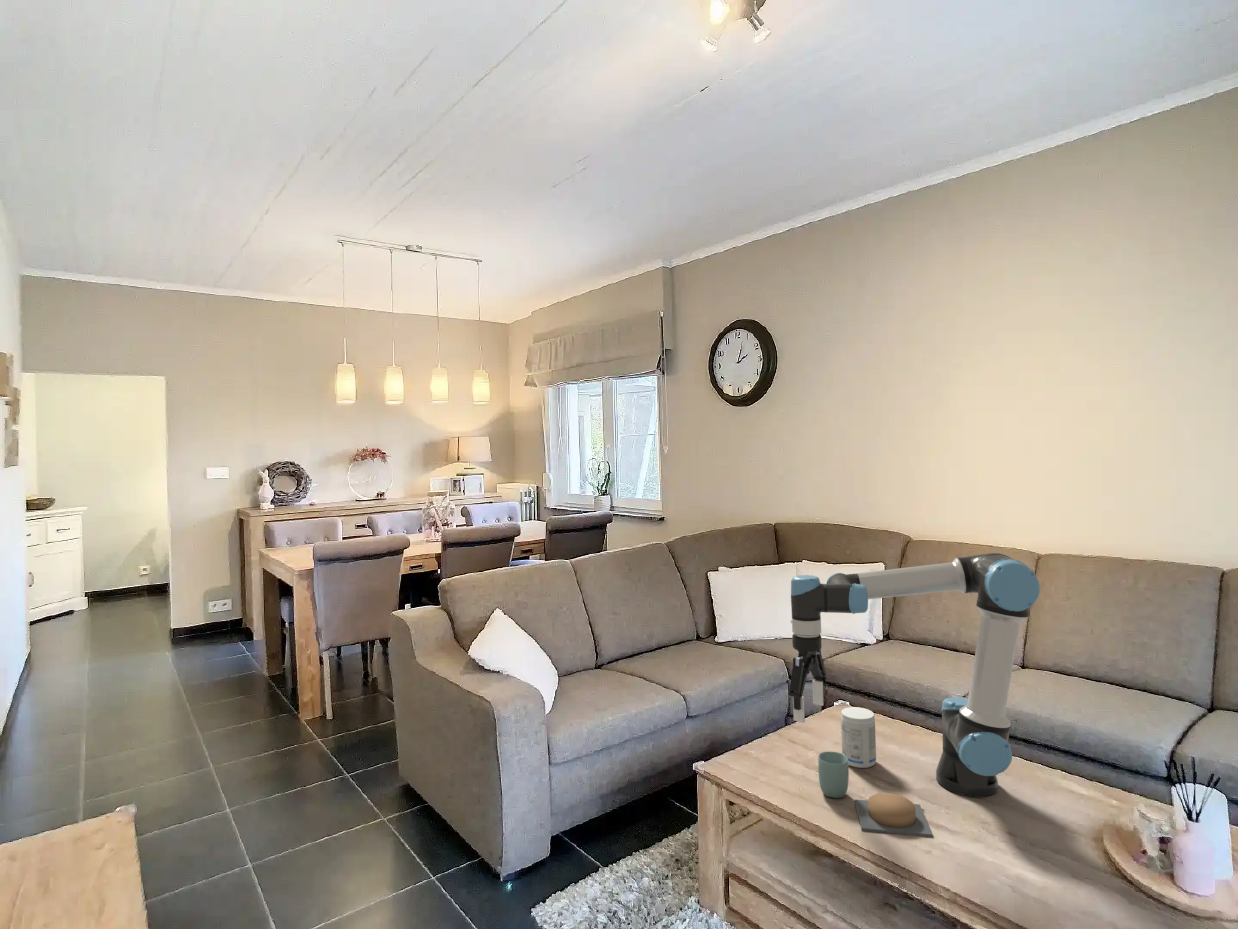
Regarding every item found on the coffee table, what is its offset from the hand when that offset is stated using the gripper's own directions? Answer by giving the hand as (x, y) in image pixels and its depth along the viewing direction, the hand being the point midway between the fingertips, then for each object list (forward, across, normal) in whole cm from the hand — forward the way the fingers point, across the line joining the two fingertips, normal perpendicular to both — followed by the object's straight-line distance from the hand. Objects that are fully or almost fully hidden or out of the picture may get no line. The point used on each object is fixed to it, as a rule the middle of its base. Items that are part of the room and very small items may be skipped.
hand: (809, 712), depth 185 cm
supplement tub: (+22, -26, +4) cm, 35 cm away
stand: (+22, +1, +21) cm, 31 cm away
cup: (+22, -3, +5) cm, 23 cm away
